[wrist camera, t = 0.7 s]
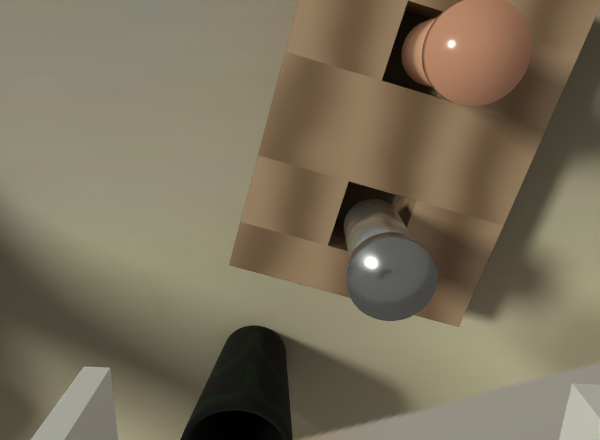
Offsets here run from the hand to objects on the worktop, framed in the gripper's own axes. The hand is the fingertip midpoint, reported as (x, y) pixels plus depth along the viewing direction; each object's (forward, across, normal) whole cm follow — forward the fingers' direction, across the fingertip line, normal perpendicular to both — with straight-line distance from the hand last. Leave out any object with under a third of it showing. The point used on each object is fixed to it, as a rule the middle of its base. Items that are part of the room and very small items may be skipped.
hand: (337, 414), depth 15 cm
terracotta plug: (+22, +7, +10) cm, 25 cm away
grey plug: (+22, +4, -2) cm, 22 cm away
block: (+27, +5, +4) cm, 28 cm away
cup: (+27, -5, -16) cm, 32 cm away
